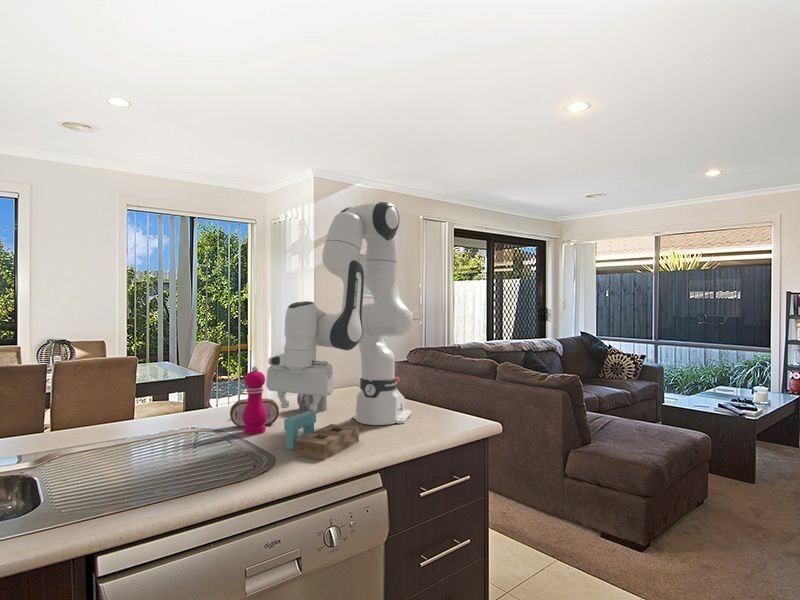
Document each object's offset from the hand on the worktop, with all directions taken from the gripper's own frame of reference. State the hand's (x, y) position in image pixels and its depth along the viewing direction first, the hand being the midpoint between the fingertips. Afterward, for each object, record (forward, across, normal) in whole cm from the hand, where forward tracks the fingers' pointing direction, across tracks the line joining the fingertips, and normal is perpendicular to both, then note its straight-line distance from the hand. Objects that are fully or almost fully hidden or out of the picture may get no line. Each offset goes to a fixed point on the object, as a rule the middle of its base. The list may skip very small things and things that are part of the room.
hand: (298, 409), depth 139 cm
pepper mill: (+10, +20, -6) cm, 23 cm away
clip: (+10, 0, -1) cm, 10 cm away
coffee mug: (+9, +21, -37) cm, 43 cm away
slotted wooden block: (+10, -9, -1) cm, 13 cm away
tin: (+10, +25, -12) cm, 29 cm away
